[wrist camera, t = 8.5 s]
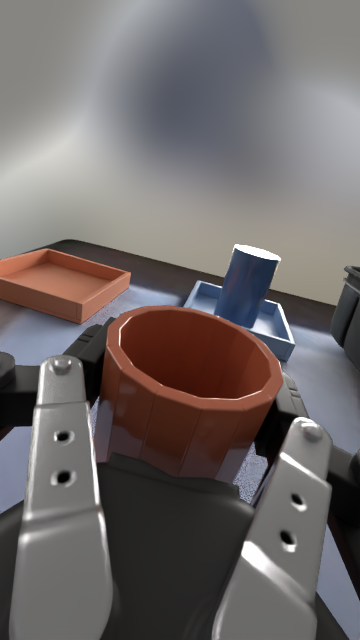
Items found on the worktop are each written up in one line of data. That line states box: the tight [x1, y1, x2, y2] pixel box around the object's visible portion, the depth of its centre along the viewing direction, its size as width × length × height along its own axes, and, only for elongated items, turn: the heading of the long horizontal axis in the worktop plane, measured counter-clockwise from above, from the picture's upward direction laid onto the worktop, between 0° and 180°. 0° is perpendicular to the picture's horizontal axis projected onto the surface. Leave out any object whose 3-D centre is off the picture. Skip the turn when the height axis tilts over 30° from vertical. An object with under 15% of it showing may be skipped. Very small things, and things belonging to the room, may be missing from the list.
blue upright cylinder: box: [214, 245, 281, 329], centre depth 38 cm, size 6×6×10 cm
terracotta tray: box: [0, 248, 131, 324], centre depth 36 cm, size 14×14×2 cm
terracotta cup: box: [94, 305, 284, 484], centre depth 12 cm, size 6×6×11 cm
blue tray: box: [184, 280, 295, 361], centre depth 40 cm, size 14×14×2 cm
